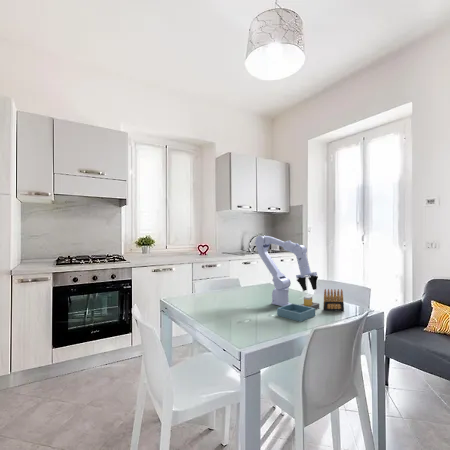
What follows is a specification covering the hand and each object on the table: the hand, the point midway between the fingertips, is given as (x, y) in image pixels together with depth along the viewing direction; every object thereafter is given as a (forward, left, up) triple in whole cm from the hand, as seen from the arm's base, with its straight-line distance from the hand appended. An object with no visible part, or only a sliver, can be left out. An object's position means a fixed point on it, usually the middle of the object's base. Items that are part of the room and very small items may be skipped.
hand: (309, 290), depth 162 cm
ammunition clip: (+10, +8, -11) cm, 17 cm away
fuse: (-1, 0, -11) cm, 11 cm away
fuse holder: (-1, 0, -11) cm, 11 cm away
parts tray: (+1, -15, -11) cm, 18 cm away
